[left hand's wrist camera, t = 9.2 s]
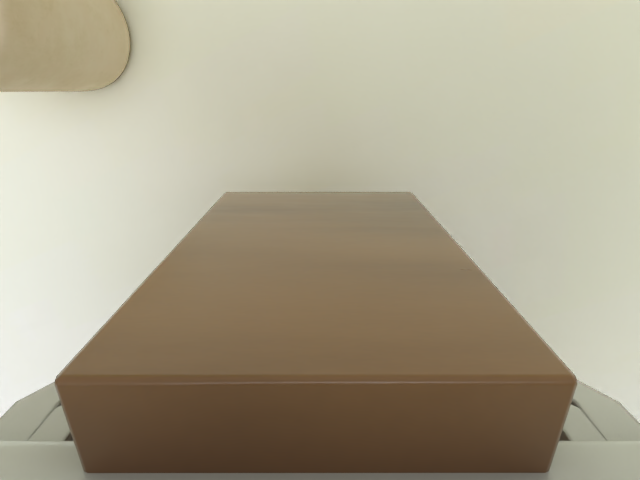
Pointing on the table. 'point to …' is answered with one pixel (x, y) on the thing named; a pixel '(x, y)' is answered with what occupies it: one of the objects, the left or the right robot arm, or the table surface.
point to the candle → (61, 45)
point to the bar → (316, 351)
